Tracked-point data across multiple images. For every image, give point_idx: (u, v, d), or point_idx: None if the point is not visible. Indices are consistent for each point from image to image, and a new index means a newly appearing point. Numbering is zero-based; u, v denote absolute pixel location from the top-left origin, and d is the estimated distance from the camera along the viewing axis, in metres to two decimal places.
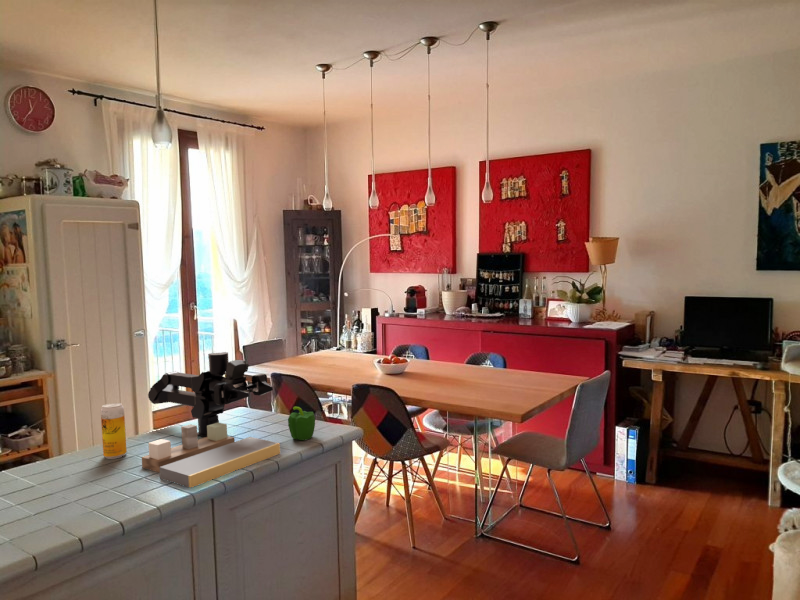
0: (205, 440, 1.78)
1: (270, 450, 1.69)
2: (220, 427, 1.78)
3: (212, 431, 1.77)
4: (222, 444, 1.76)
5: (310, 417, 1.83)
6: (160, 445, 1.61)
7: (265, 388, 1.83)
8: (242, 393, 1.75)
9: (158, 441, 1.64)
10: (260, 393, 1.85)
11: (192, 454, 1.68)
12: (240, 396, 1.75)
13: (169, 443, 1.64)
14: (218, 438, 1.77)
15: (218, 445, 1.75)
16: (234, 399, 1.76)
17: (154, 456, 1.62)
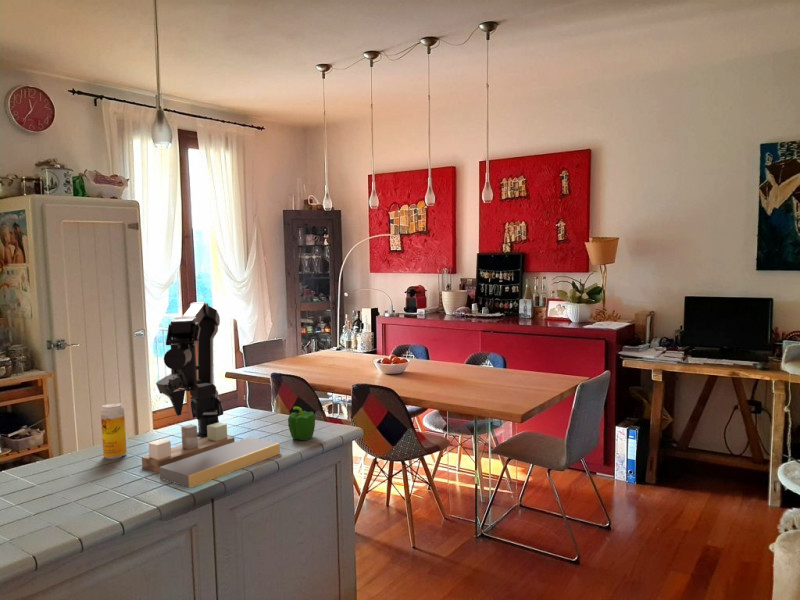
0: (205, 440, 1.78)
1: (270, 450, 1.69)
2: (220, 427, 1.78)
3: (212, 431, 1.77)
4: (222, 444, 1.76)
5: (310, 417, 1.83)
6: (160, 445, 1.61)
7: None
8: None
9: (158, 441, 1.64)
10: None
11: (192, 454, 1.68)
12: None
13: (169, 443, 1.64)
14: (218, 438, 1.77)
15: (218, 445, 1.75)
16: None
17: (154, 456, 1.62)
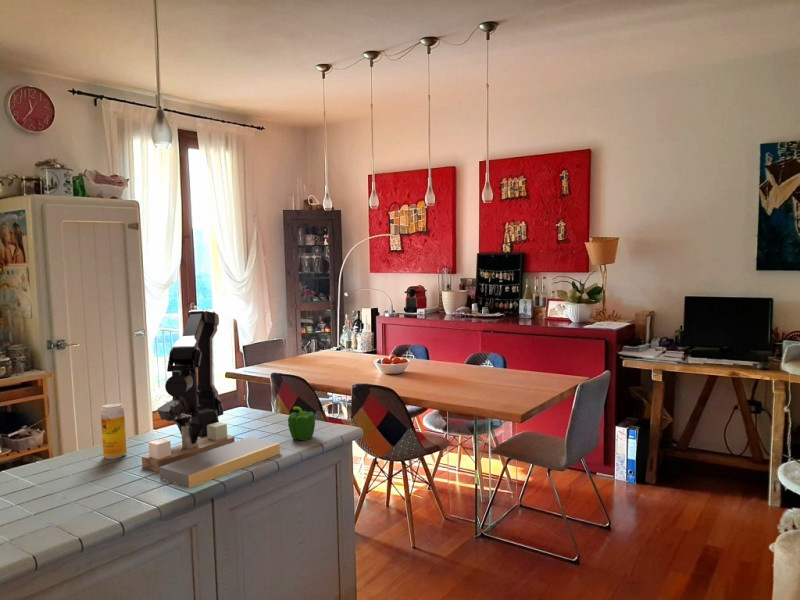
0: (205, 439, 1.78)
1: (270, 450, 1.69)
2: (220, 427, 1.78)
3: (212, 431, 1.77)
4: (222, 444, 1.76)
5: (310, 417, 1.83)
6: (160, 445, 1.61)
7: None
8: None
9: (158, 440, 1.64)
10: None
11: (192, 454, 1.67)
12: None
13: (169, 442, 1.64)
14: (218, 438, 1.77)
15: (218, 445, 1.75)
16: None
17: (154, 455, 1.62)
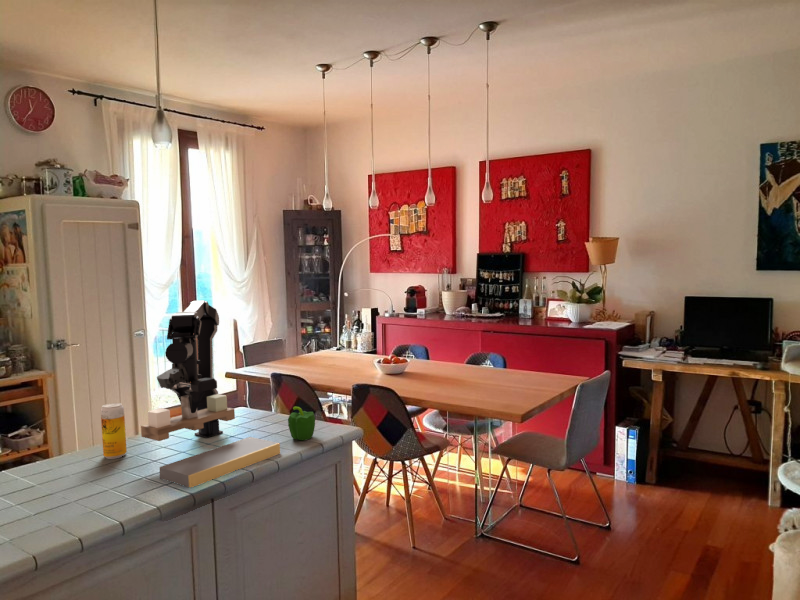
0: (205, 411, 1.77)
1: (270, 450, 1.69)
2: (220, 398, 1.77)
3: (212, 402, 1.76)
4: (222, 415, 1.75)
5: (310, 417, 1.83)
6: (159, 413, 1.60)
7: None
8: None
9: (157, 410, 1.63)
10: None
11: (192, 423, 1.67)
12: None
13: (168, 412, 1.63)
14: (218, 409, 1.76)
15: (218, 416, 1.74)
16: None
17: (153, 424, 1.61)
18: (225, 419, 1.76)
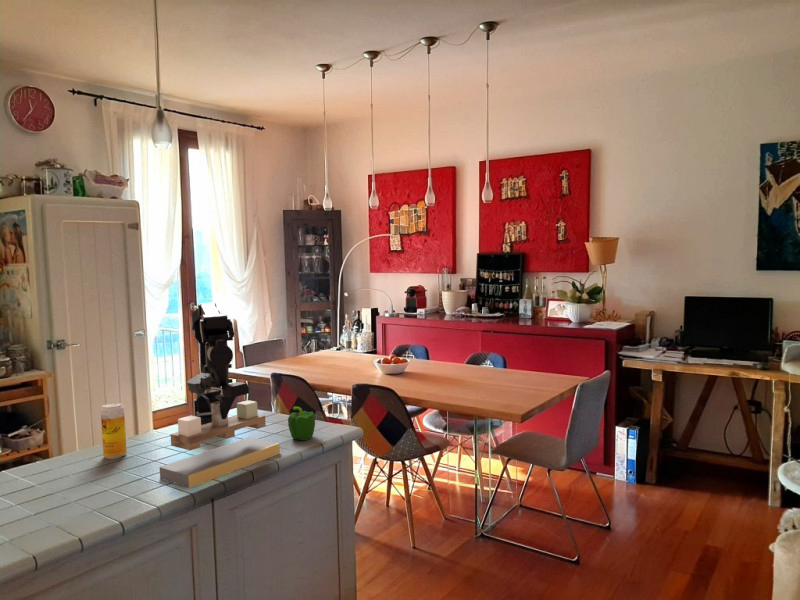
0: (235, 418, 1.69)
1: (270, 450, 1.69)
2: (251, 405, 1.69)
3: (243, 409, 1.68)
4: (253, 422, 1.67)
5: (310, 417, 1.83)
6: (190, 421, 1.53)
7: None
8: None
9: (187, 417, 1.55)
10: None
11: (223, 432, 1.59)
12: None
13: (199, 419, 1.55)
14: (248, 416, 1.69)
15: (249, 423, 1.66)
16: None
17: (184, 433, 1.53)
18: (256, 426, 1.69)
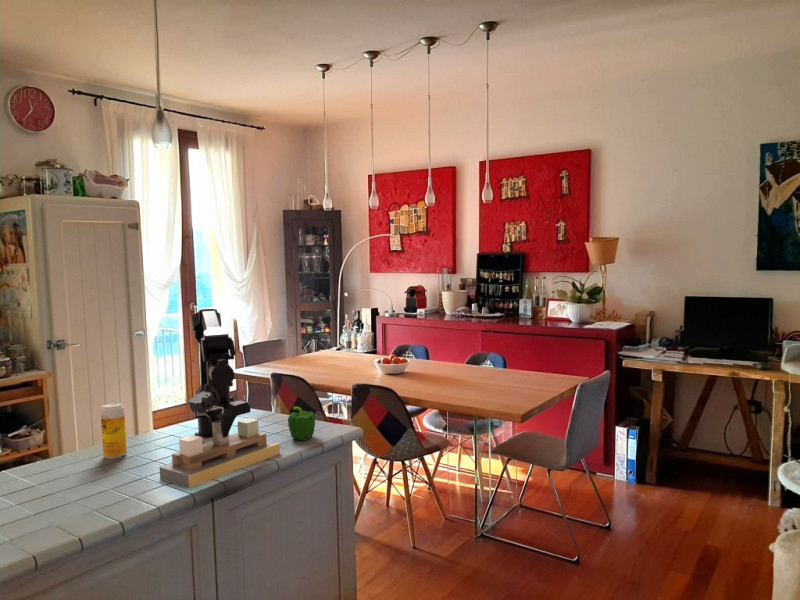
0: (236, 436, 1.69)
1: (270, 450, 1.69)
2: (252, 423, 1.70)
3: (244, 427, 1.69)
4: (254, 441, 1.68)
5: (310, 417, 1.83)
6: (191, 441, 1.53)
7: None
8: None
9: (189, 437, 1.56)
10: None
11: (224, 451, 1.59)
12: None
13: (201, 439, 1.56)
14: (249, 434, 1.69)
15: (250, 442, 1.67)
16: None
17: (185, 453, 1.54)
18: (257, 445, 1.69)
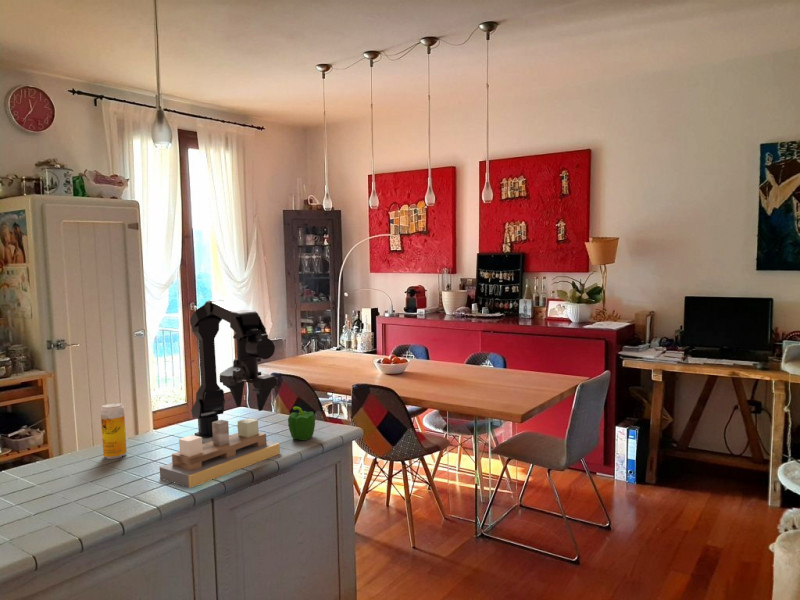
0: (236, 436, 1.69)
1: (270, 450, 1.69)
2: (252, 423, 1.70)
3: (244, 427, 1.69)
4: (254, 441, 1.68)
5: (310, 417, 1.83)
6: (191, 441, 1.53)
7: None
8: None
9: (189, 437, 1.56)
10: None
11: (224, 451, 1.59)
12: None
13: (200, 439, 1.56)
14: (249, 434, 1.69)
15: (250, 442, 1.67)
16: None
17: (185, 453, 1.54)
18: (257, 445, 1.69)
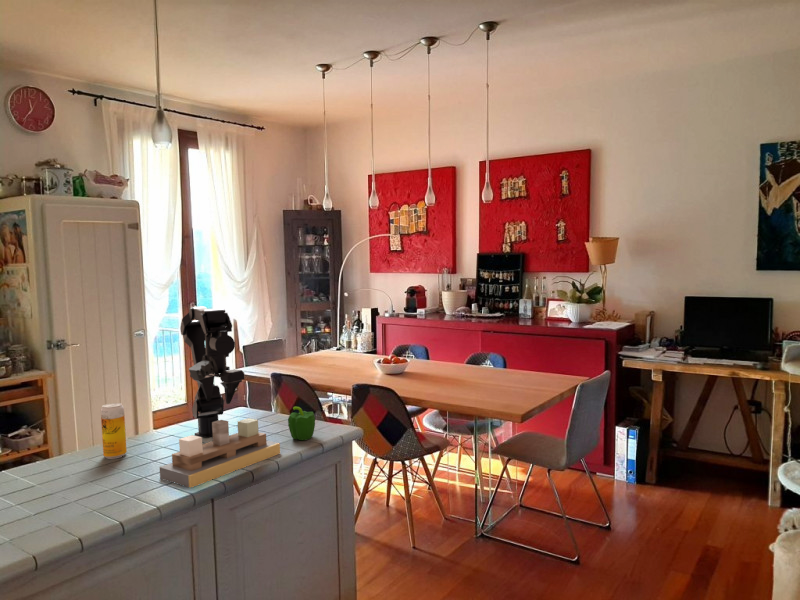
0: (236, 436, 1.69)
1: (270, 450, 1.69)
2: (252, 423, 1.70)
3: (244, 427, 1.69)
4: (254, 441, 1.68)
5: (310, 417, 1.83)
6: (191, 441, 1.53)
7: None
8: None
9: (189, 437, 1.56)
10: None
11: (224, 451, 1.59)
12: None
13: (200, 439, 1.56)
14: (249, 434, 1.69)
15: (250, 442, 1.67)
16: None
17: (185, 453, 1.54)
18: (257, 445, 1.69)
